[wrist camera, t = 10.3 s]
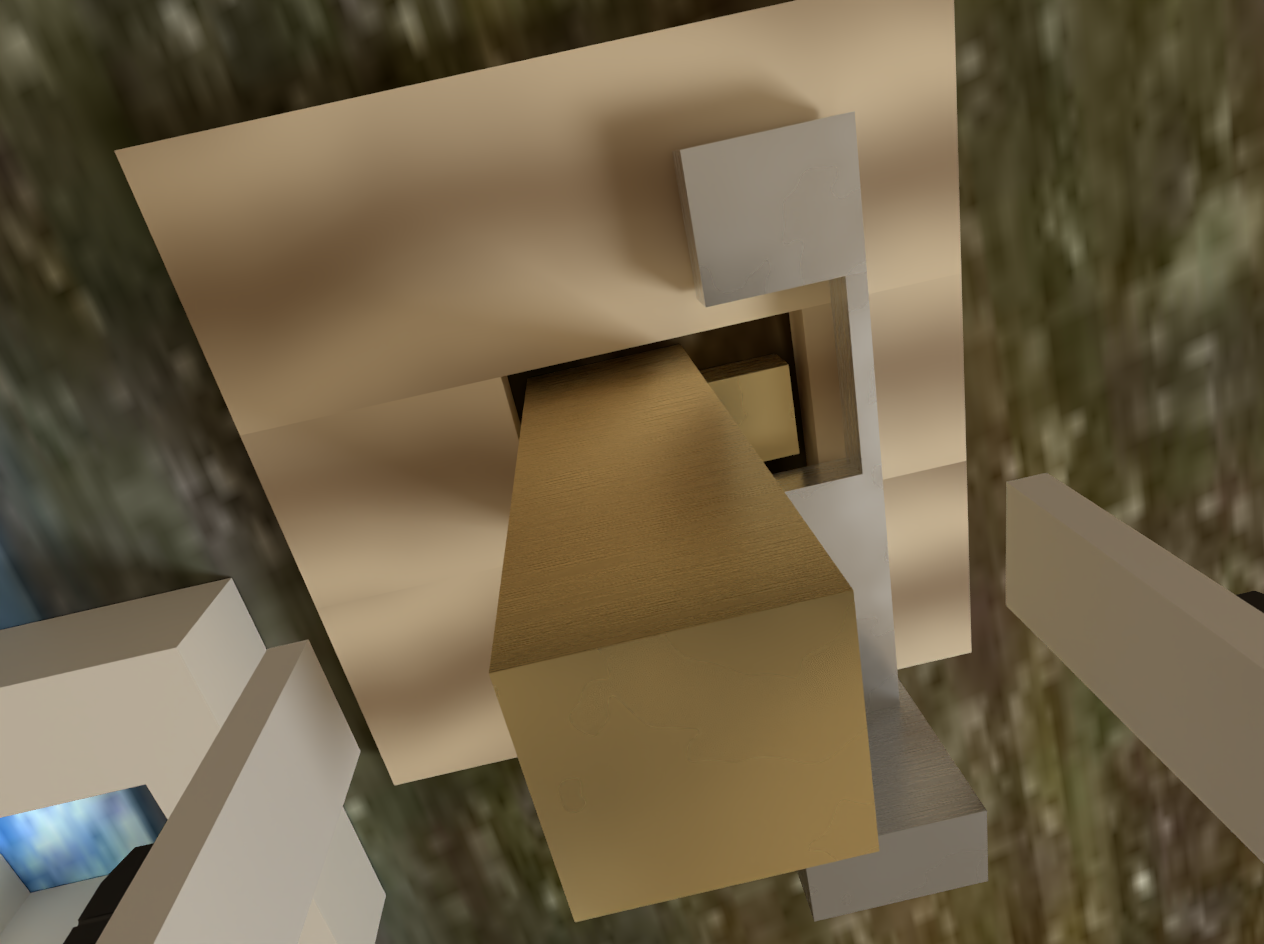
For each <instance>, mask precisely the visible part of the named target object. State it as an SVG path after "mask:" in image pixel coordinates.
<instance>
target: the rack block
mask: <svg viewBox="0 0 1264 944" xmlns="http://www.w3.org/2000/svg"><path fill="white" fill-rule="evenodd" d="M265 652H266V647H265V645H264V643H263V641H262V639H261V637H260V635H259V633H258V631H257V629H256V627H255V625H254V623H253V621H252V619H251V617H250V615H249V612H248V610H247V608H246V606H245V604H244V602H243V600H242V598H241V596H240V594H239V592H238V590H237V588H236V586H235V584H234V582H233V580H232V578H228V579H223V580H219V581H214V582H210V583H206V584H201V585H197V586H192V587H188V588H184V589H179V590H175V591H170V592H166V593H162V594H157V595H153V596H148V597H144V598H140V599H135V600H131V601H126V602H122V603H118V604H113V605H109V606H104V607H100V608H96V609H91V610H87V611H82V612H78V613H73V614H69V615H65V616H60V617H56V618H51V619H47V620H43V621H38V622H34V623H29V624H25V625H21V626H16V627H12V628H7V629H3V630H0V818H1V817H5V816H10V815H14V814H18V813H23V812H27V811H31V810H36V809H40V808H44V807H49V806H53V805H57V804H62V803H66V802H71V801H75V800H79V799H84V798H88V797H92V796H97V795H101V794H105V793H110V792H114V791H118V790H123V789H127V788H131V787H136V786H140V785H145V784H146V785H147V787H148V789H149V790H150V792H151V794H152V795H153V797H154V798H155V800H156V802H157V803H158V805H159V806H160V808H161V810H162V811H163V813H164V815H165V816H166V818H167V819H169V817H170V815H171V813H172V812H173V810H174V808H175V807H176V805H177V803H178V801H179V800H180V798H181V796H182V795H183V793H184V791H185V789H186V788H187V786H188V784H189V783H190V781H191V779H192V777H193V776H194V774H195V772H196V771H197V769H198V767H199V765H200V764H201V762H202V760H203V759H204V757H205V755H206V753H207V752H208V750H209V748H210V746H211V745H212V743H213V741H214V740H215V738H216V736H217V734H218V733H219V731H220V729H221V728H222V726H223V724H224V722H225V721H226V719H227V717H228V716H229V714H230V712H231V710H232V709H233V707H234V705H235V704H236V702H237V700H238V698H239V697H240V695H241V693H242V692H243V690H244V688H245V686H246V685H247V683H248V681H249V680H250V678H251V676H252V674H253V673H254V671H255V669H256V668H257V666H258V664H259V662H260V661H261V659H262V657H263V655H264V654H265ZM107 876H108V875H106V876H101V877H97V878H93V879H88V880H84V881H80V882H75V883H71V884H67V885H62V886H58V887H54V888H49V889H45V890H41V891H36V892H32V893H30V892H29V890H28V889H27V888H26V886H25V885H24V884H23V883H22V881H21V880H20V879H19V877H18V876H17V875H16V873H15V872H14V871H13V869H12V868H11V867H10V865H9V864H8V863H7V861H6V860H5V859H4V858H3V856H2V855H1V854H0V944H63V943H64V941H65V940H66V938H67V936H68V935H69V933H70V932H71V930H72V928H73V927H76V926H78V919H79V917H80V916H81V914H82V912H83V911H84V909H85V908H86V906H87V904H88V903H89V901H90V900H91V898H92V896H93V895H94V893H95V891H96V890H97V888H98V887H99V885H100V883H101V882H102V881H103V880H104V879H105V878H106V877H107ZM385 897H386V894H385V892H384V890H383V888H382V886H381V884H380V882H379V880H378V878H377V876H376V874H375V872H374V870H373V868H372V866H371V864H370V861H369V859H368V857H367V855H366V853H365V851H364V849H363V847H362V845H361V843H360V841H359V839H358V837H357V835H356V833H355V831H354V829H353V826H352V824H351V822H350V820H349V818H348V816H347V814H346V812H345V810H344V808H343V807H342V810H341V813H340V816H339V819H338V822H337V825H336V828H335V831H334V834H333V837H332V840H331V843H330V846H329V849H328V853H327V856H326V859H325V862H324V865H323V868H322V871H321V874H320V877H319V880H318V883H317V886H316V889H315V892H314V895H313V898H312V902H311V905H310V908H309V911H308V914H307V917H306V920H305V923H304V926H303V929H302V932H301V935H300V938H299V941H298V944H375V940H376V936H377V931H378V927H379V923H380V918H381V914H382V910H383V905H384V901H385Z"/></svg>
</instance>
